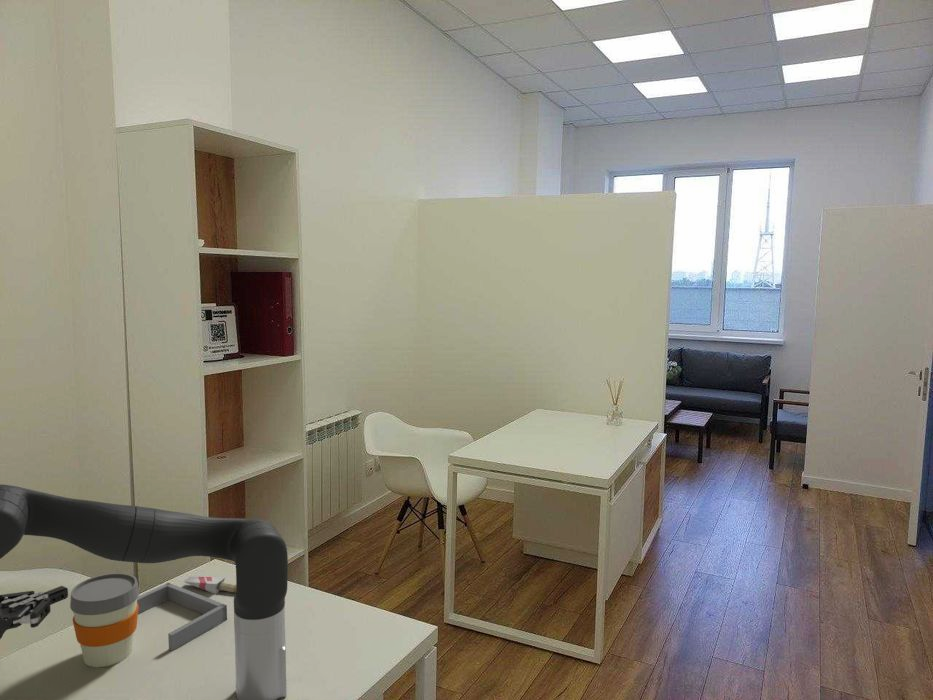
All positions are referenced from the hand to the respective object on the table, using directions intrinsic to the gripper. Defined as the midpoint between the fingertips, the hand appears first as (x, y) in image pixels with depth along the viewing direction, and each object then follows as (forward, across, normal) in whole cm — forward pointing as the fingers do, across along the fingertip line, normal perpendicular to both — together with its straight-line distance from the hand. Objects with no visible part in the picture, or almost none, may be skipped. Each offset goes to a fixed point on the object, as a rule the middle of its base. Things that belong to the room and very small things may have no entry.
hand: (65, 591), depth 130 cm
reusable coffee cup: (+8, 0, +18) cm, 19 cm away
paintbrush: (+39, +2, +17) cm, 43 cm away
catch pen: (+23, 0, +17) cm, 29 cm away
